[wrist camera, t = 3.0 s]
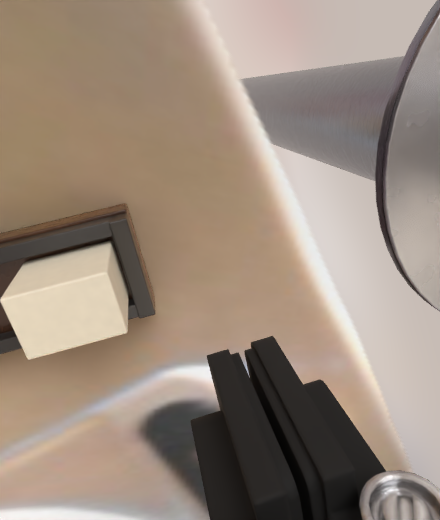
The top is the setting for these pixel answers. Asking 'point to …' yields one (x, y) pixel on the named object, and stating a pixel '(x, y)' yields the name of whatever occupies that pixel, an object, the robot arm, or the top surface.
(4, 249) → the rail
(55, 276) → the cream block
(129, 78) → the top surface
